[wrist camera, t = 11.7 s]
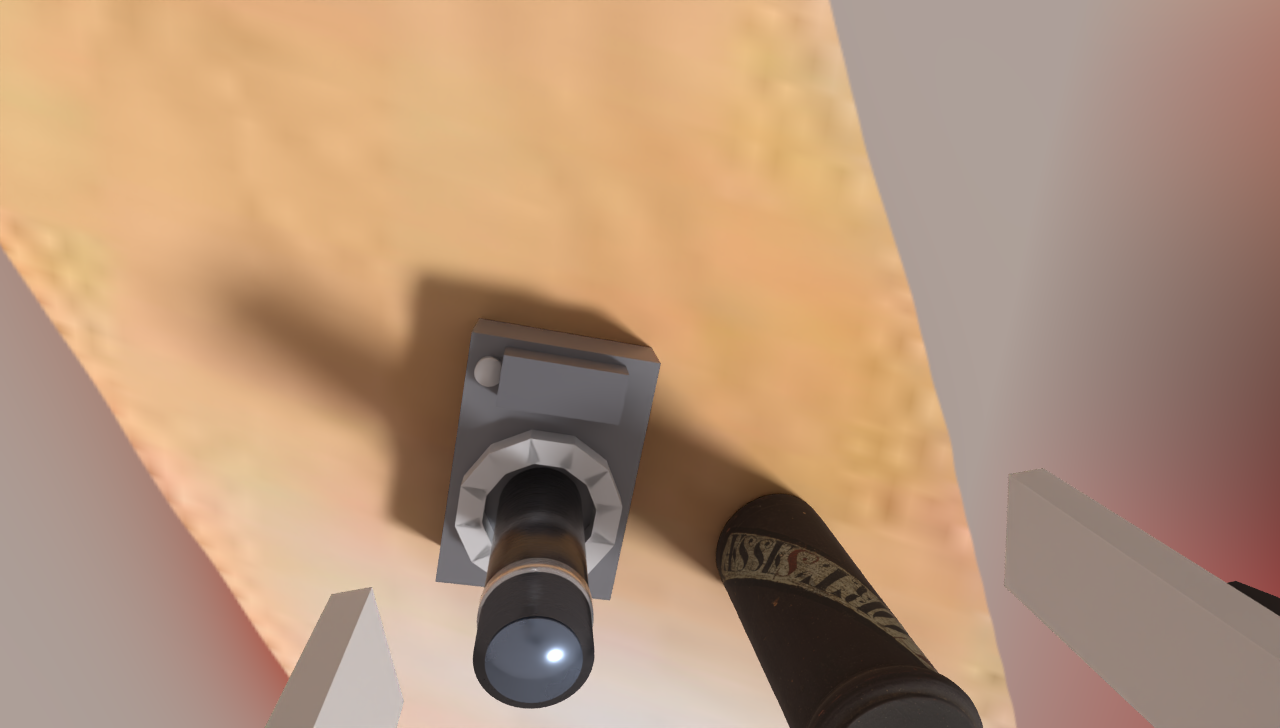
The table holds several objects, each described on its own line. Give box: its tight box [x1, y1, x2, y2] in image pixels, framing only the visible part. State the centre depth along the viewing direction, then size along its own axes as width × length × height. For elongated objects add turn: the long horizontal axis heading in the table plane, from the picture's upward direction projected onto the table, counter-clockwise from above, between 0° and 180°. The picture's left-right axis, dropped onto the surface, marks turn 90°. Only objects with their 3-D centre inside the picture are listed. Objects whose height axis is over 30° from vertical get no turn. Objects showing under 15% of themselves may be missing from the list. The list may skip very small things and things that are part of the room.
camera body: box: [435, 318, 661, 600], centre depth 43 cm, size 16×11×6 cm
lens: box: [473, 467, 594, 708], centre depth 35 cm, size 5×5×14 cm
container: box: [716, 494, 983, 728], centre depth 40 cm, size 9×9×20 cm
